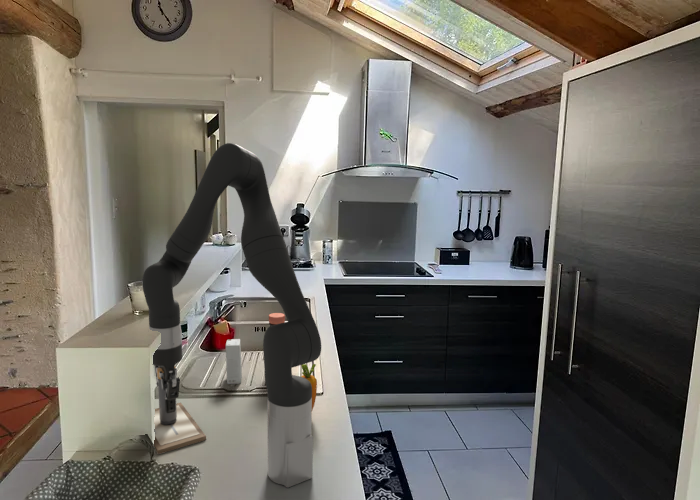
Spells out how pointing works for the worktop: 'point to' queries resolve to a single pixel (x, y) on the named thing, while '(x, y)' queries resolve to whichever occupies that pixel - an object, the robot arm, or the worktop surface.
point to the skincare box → (233, 361)
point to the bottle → (276, 318)
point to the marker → (164, 417)
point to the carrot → (310, 380)
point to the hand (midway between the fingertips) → (167, 407)
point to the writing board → (176, 431)
